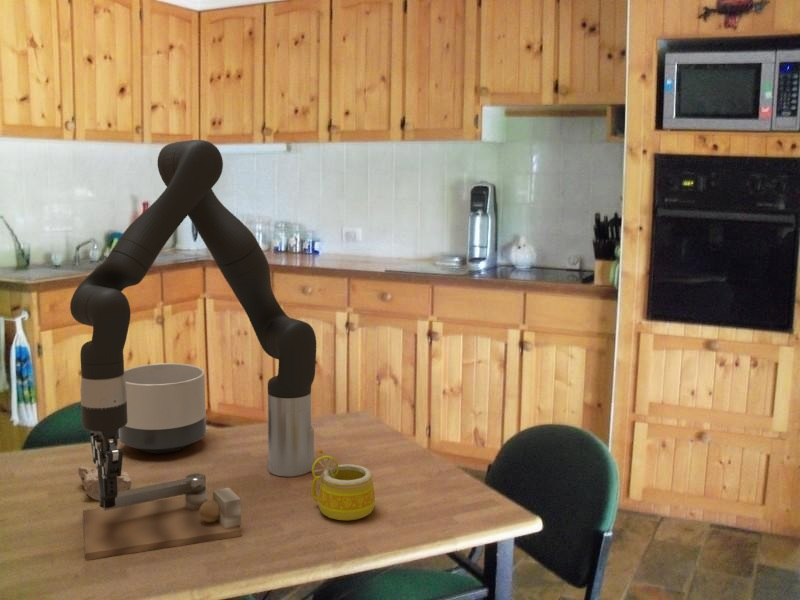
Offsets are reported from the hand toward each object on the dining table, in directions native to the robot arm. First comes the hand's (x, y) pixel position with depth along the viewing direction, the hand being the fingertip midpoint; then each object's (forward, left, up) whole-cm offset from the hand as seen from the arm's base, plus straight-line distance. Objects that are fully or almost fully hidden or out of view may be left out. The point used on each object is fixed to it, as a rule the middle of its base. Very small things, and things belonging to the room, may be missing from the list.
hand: (107, 492), depth 144 cm
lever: (-8, -1, -3) cm, 9 cm away
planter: (-14, -41, -7) cm, 44 cm away
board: (-9, +1, -7) cm, 11 cm away
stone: (+1, -19, -8) cm, 20 cm away
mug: (-42, +6, -7) cm, 43 cm away
